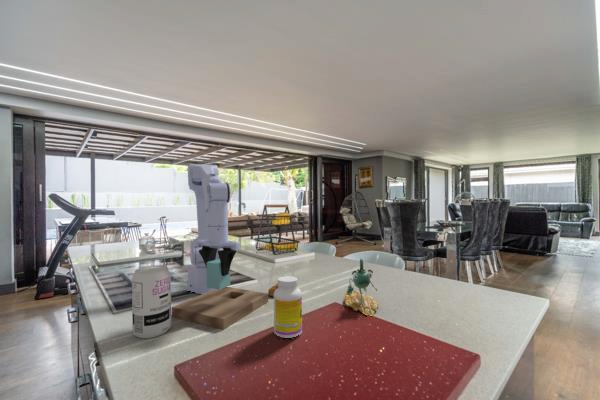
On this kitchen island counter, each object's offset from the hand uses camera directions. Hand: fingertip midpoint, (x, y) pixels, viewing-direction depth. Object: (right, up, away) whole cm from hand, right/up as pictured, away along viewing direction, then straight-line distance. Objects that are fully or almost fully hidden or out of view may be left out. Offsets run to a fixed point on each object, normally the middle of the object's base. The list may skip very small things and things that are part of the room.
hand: (218, 274), depth 80 cm
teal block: (0, -4, 0) cm, 4 cm away
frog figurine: (+41, -11, +4) cm, 43 cm away
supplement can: (-12, -11, -12) cm, 20 cm away
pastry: (+17, -11, +15) cm, 25 cm away
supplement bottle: (+20, -11, -13) cm, 26 cm away
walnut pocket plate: (+1, -11, +2) cm, 11 cm away
